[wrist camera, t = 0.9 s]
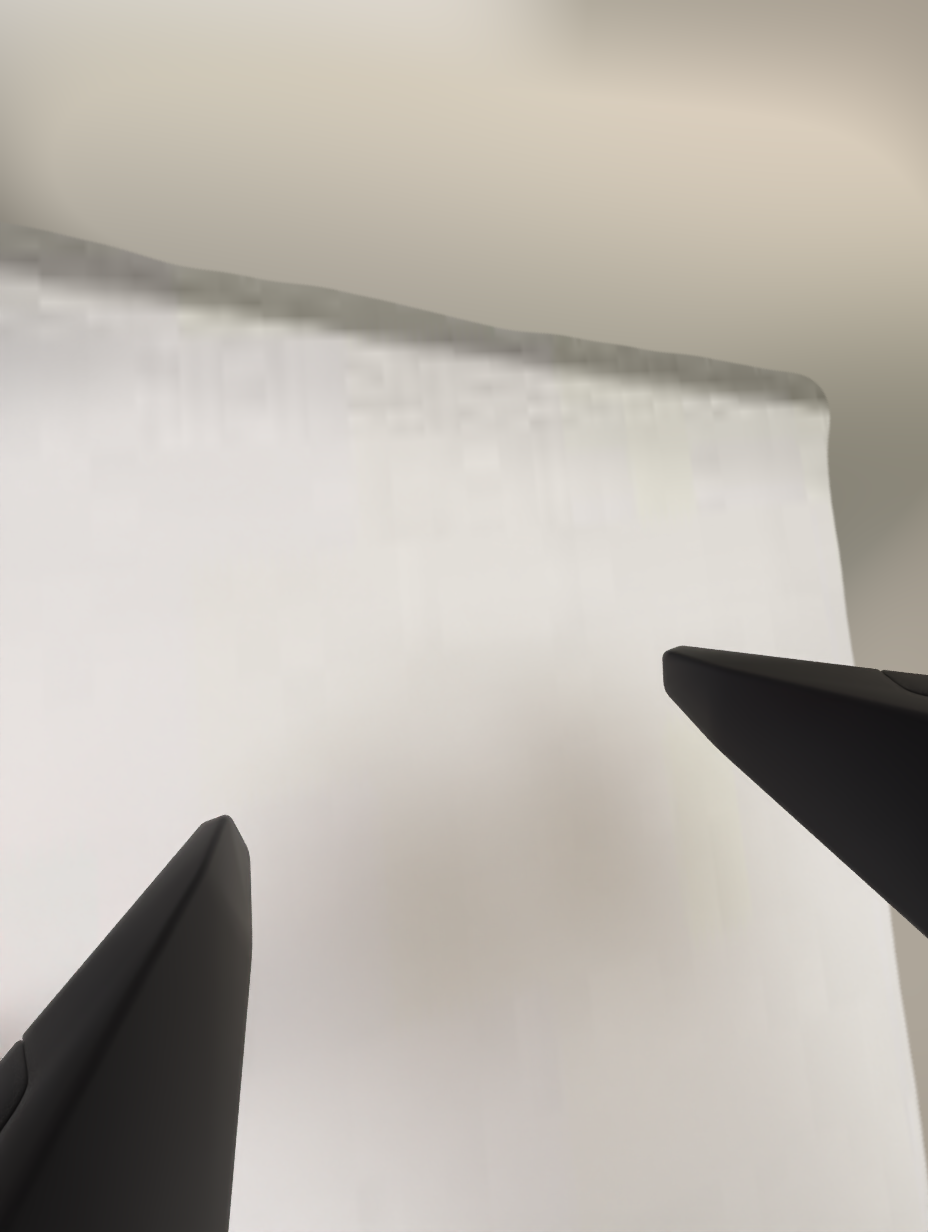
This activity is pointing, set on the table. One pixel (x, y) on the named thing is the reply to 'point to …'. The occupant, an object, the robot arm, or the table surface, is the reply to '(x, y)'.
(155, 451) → the table surface
